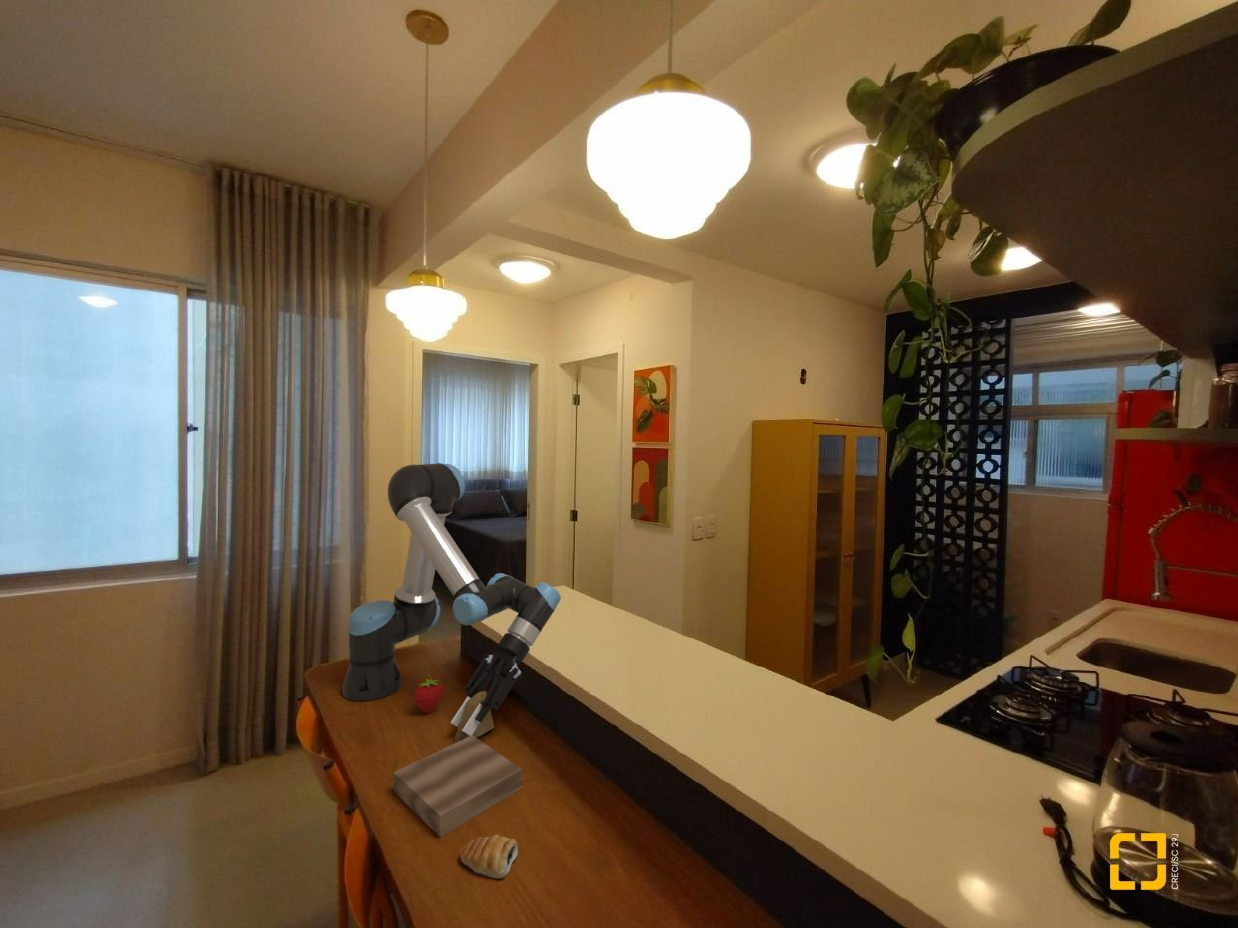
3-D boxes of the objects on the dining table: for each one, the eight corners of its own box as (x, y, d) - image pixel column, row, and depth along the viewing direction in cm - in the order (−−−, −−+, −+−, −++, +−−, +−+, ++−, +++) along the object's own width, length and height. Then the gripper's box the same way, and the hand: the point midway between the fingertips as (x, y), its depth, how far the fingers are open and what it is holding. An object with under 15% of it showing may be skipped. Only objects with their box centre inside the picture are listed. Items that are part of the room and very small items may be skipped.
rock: (455, 743, 117) (498, 722, 121) (443, 706, 121) (485, 687, 126) (457, 755, 125) (498, 735, 129) (447, 720, 129) (486, 702, 133)
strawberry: (409, 714, 135) (409, 676, 134) (437, 703, 140) (436, 667, 140) (420, 722, 131) (420, 683, 130) (448, 711, 136) (448, 673, 136)
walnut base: (393, 791, 105) (393, 772, 105) (472, 752, 119) (472, 735, 118) (440, 837, 93) (440, 815, 93) (521, 788, 107) (521, 769, 106)
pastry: (451, 872, 86) (451, 850, 86) (471, 842, 93) (471, 821, 92) (505, 883, 84) (505, 860, 84) (521, 851, 91) (521, 829, 91)
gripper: (548, 656, 130) (492, 750, 118) (506, 638, 141) (451, 722, 130) (532, 641, 126) (471, 737, 114) (489, 623, 137) (431, 709, 125)
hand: (460, 729), depth 122 cm, fingers closed on rock, 4 cm apart
